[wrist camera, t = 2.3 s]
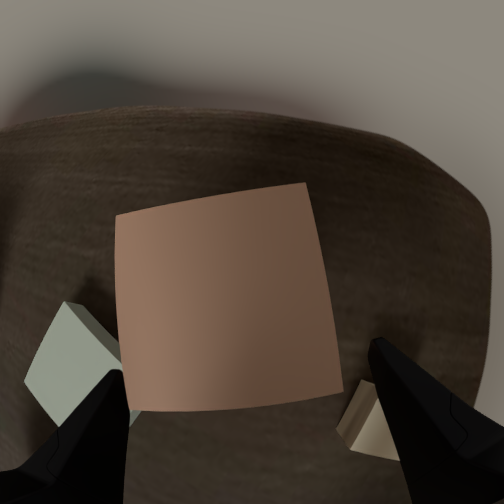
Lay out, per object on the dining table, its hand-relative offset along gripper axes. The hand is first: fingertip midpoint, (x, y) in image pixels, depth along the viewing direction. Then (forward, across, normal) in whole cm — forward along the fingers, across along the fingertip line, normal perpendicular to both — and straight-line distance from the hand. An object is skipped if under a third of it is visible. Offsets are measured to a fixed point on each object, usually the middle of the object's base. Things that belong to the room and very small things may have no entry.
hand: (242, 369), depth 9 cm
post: (+8, 0, +5) cm, 10 cm away
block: (+2, -7, +11) cm, 14 cm away
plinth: (+5, +13, +8) cm, 16 cm away
